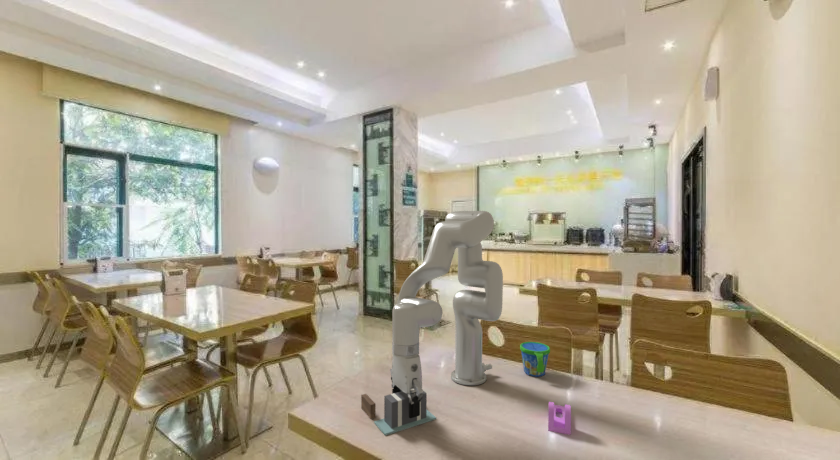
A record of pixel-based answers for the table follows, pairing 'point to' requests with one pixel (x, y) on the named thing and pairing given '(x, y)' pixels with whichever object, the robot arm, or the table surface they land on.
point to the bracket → (559, 423)
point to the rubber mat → (387, 430)
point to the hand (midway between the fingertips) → (405, 408)
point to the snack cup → (534, 358)
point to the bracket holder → (368, 405)
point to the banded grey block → (401, 409)
